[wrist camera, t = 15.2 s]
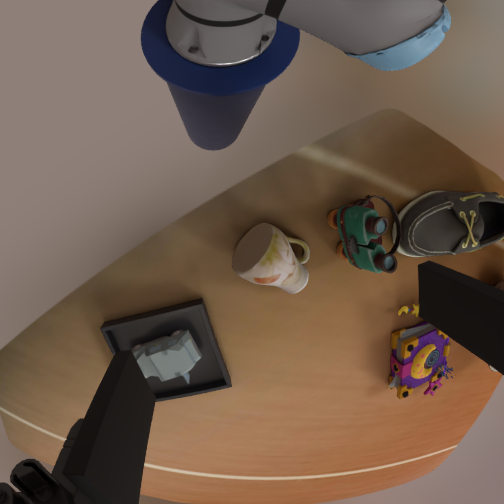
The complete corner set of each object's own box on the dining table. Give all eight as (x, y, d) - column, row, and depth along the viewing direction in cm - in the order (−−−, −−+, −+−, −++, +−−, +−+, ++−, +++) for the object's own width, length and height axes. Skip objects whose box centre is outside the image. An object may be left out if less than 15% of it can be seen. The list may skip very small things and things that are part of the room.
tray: (104, 322, 37) (100, 328, 35) (202, 297, 38) (202, 303, 37) (141, 396, 41) (139, 404, 39) (230, 379, 42) (231, 387, 40)
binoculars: (435, 255, 31) (379, 291, 30) (386, 242, 42) (334, 269, 40) (423, 186, 29) (361, 213, 28) (372, 186, 39) (316, 209, 38)
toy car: (128, 347, 38) (120, 365, 33) (188, 325, 39) (186, 342, 34) (149, 380, 40) (144, 399, 35) (208, 361, 40) (208, 380, 35)
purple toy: (446, 283, 44) (493, 305, 32) (434, 384, 50) (465, 414, 38) (385, 307, 43) (430, 340, 31) (380, 411, 49) (409, 449, 37)
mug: (287, 301, 40) (264, 321, 31) (243, 249, 42) (209, 254, 33) (327, 266, 38) (316, 276, 29) (280, 213, 40) (254, 207, 31)
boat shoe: (381, 210, 39) (418, 216, 31) (485, 169, 41) (518, 170, 33) (395, 279, 42) (429, 297, 34) (493, 223, 44) (523, 230, 35)
